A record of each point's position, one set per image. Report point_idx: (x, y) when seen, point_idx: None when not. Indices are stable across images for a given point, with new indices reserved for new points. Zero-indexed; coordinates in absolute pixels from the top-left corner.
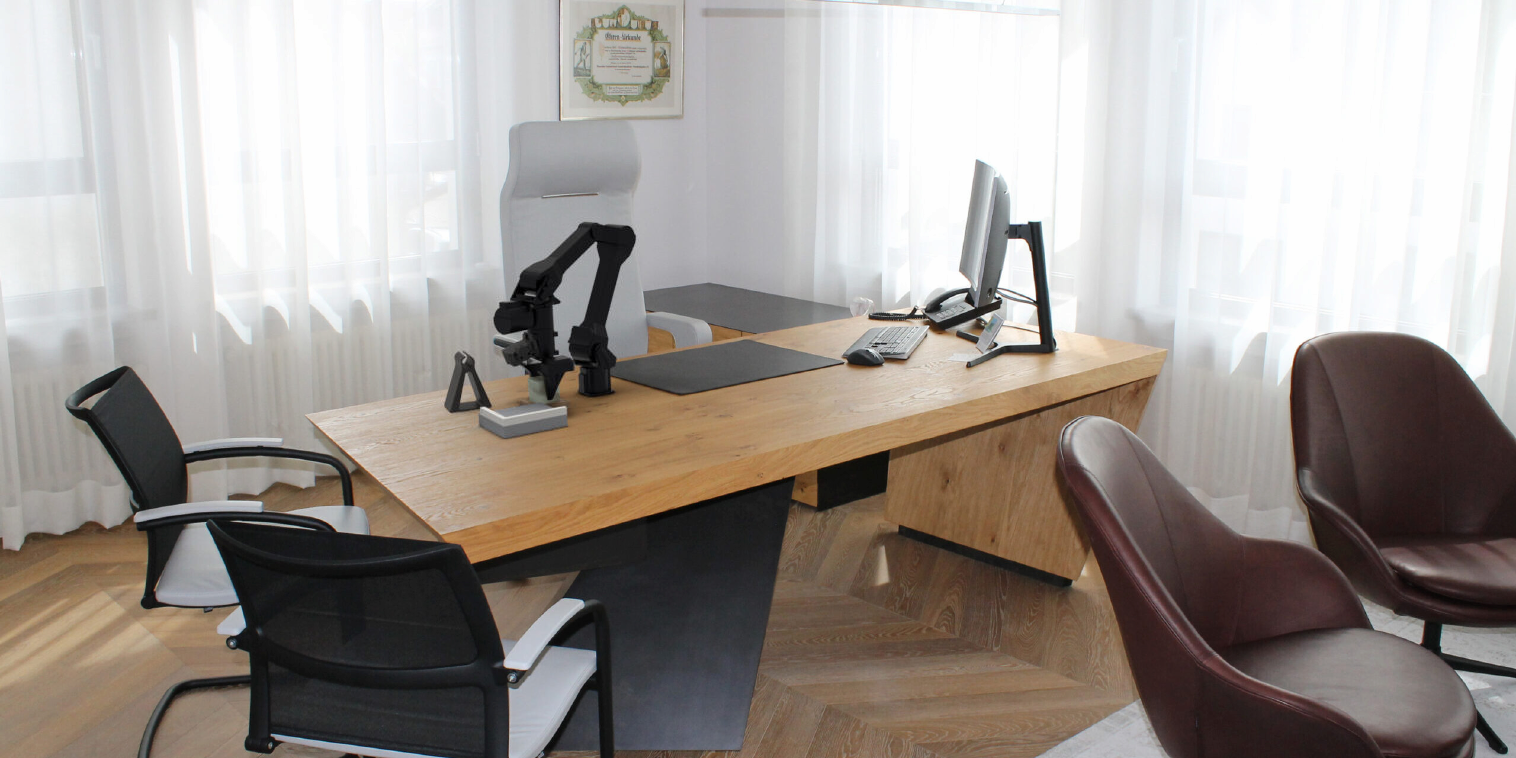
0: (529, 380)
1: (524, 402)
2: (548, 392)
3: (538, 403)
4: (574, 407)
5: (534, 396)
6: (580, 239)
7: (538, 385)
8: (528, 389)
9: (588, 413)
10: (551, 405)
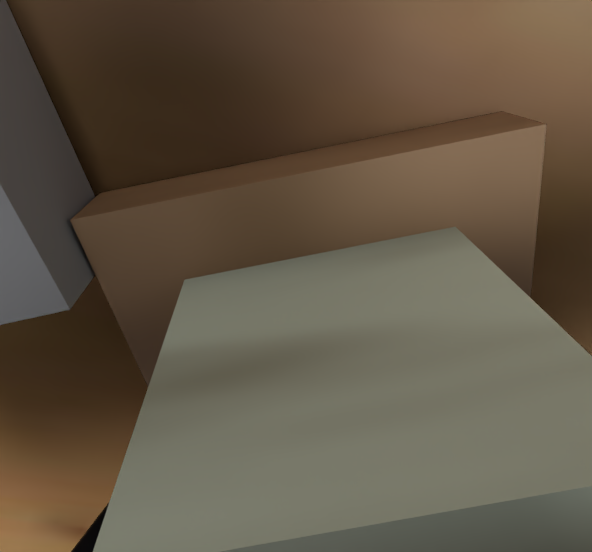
0: (565, 445)
1: (395, 152)
2: None
3: (2, 277)
4: None
5: (297, 300)
6: None
7: (113, 508)
8: (525, 296)
9: (25, 522)
10: (147, 379)
